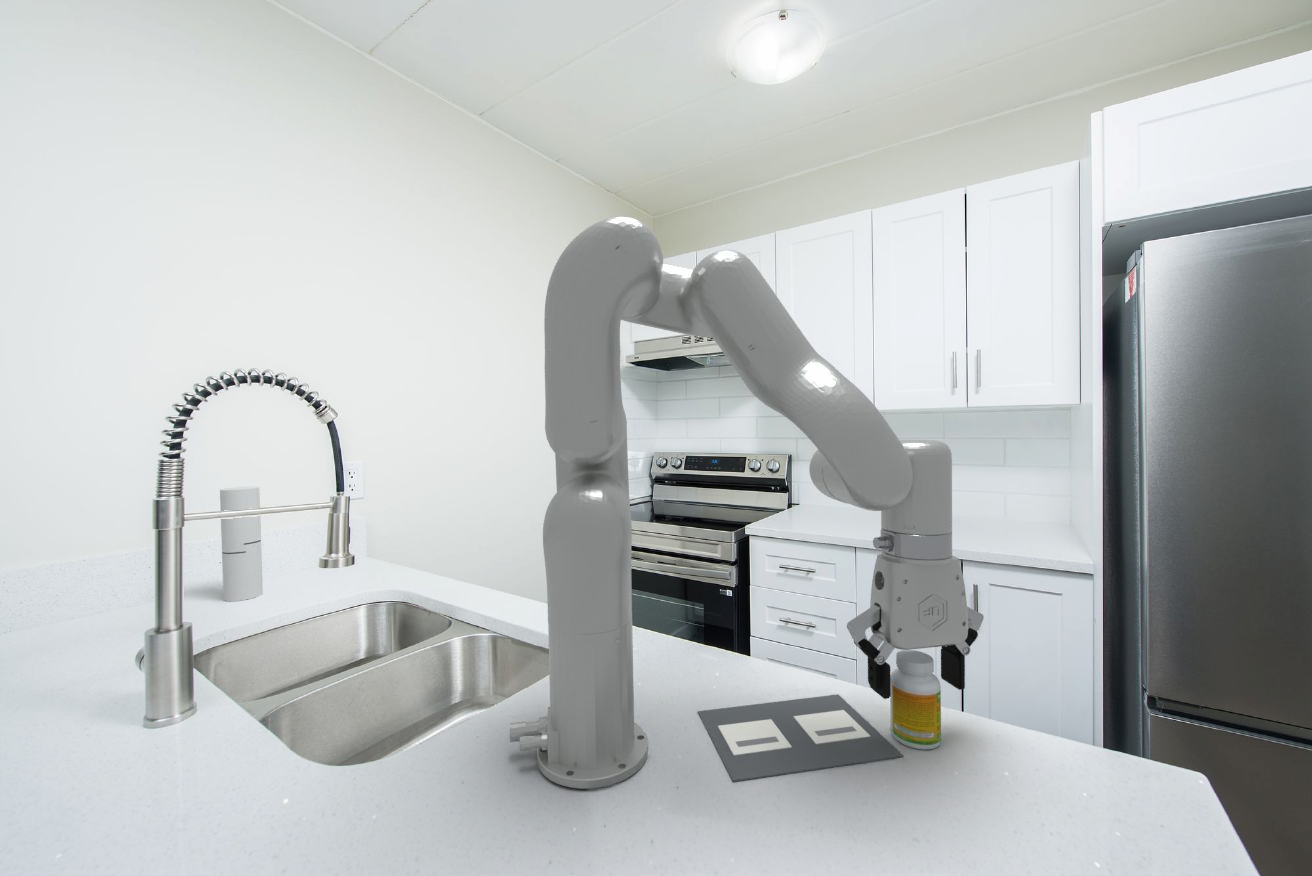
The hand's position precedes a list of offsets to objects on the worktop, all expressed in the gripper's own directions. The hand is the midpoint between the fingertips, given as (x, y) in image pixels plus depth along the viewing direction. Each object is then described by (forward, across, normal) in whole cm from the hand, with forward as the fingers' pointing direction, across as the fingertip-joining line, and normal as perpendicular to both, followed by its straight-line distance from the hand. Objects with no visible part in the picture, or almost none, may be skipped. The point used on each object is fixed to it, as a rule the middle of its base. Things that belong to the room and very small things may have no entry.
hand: (916, 688), depth 63 cm
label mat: (+6, -14, +4) cm, 16 cm away
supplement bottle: (+6, 0, 0) cm, 6 cm away
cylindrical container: (+6, -113, +82) cm, 140 cm away
